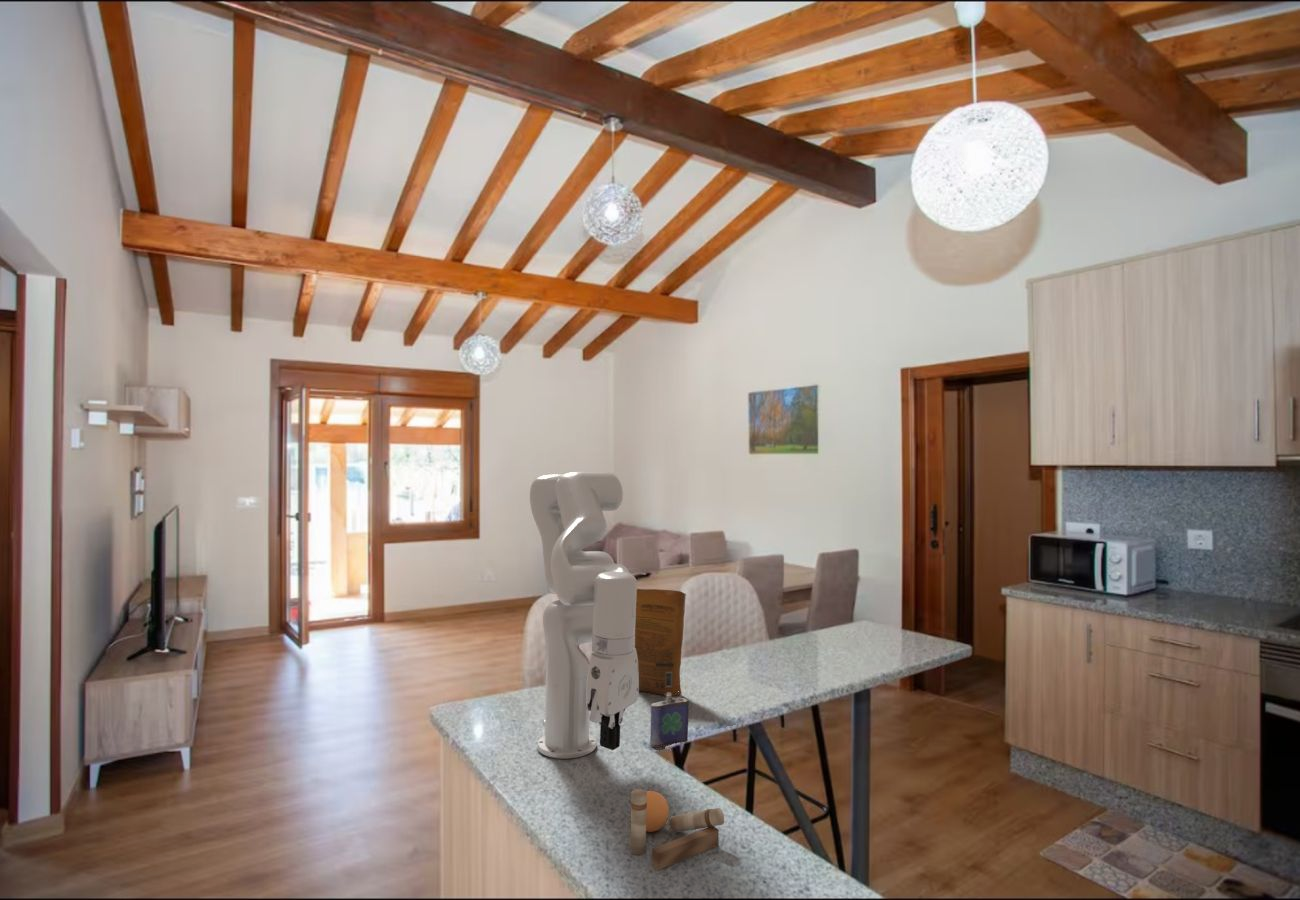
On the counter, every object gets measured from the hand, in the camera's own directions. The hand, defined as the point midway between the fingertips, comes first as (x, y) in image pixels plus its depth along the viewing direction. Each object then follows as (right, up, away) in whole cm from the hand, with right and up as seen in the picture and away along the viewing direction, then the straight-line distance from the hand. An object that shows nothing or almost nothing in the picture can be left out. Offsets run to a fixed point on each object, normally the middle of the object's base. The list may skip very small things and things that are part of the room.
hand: (609, 746), depth 118 cm
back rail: (+13, -11, -14) cm, 22 cm away
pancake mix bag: (+8, -14, +64) cm, 65 cm away
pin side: (+5, -11, -13) cm, 18 cm away
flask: (+11, -12, +29) cm, 34 cm away
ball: (+7, -8, -7) cm, 13 cm away
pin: (+11, -10, -7) cm, 16 cm away
